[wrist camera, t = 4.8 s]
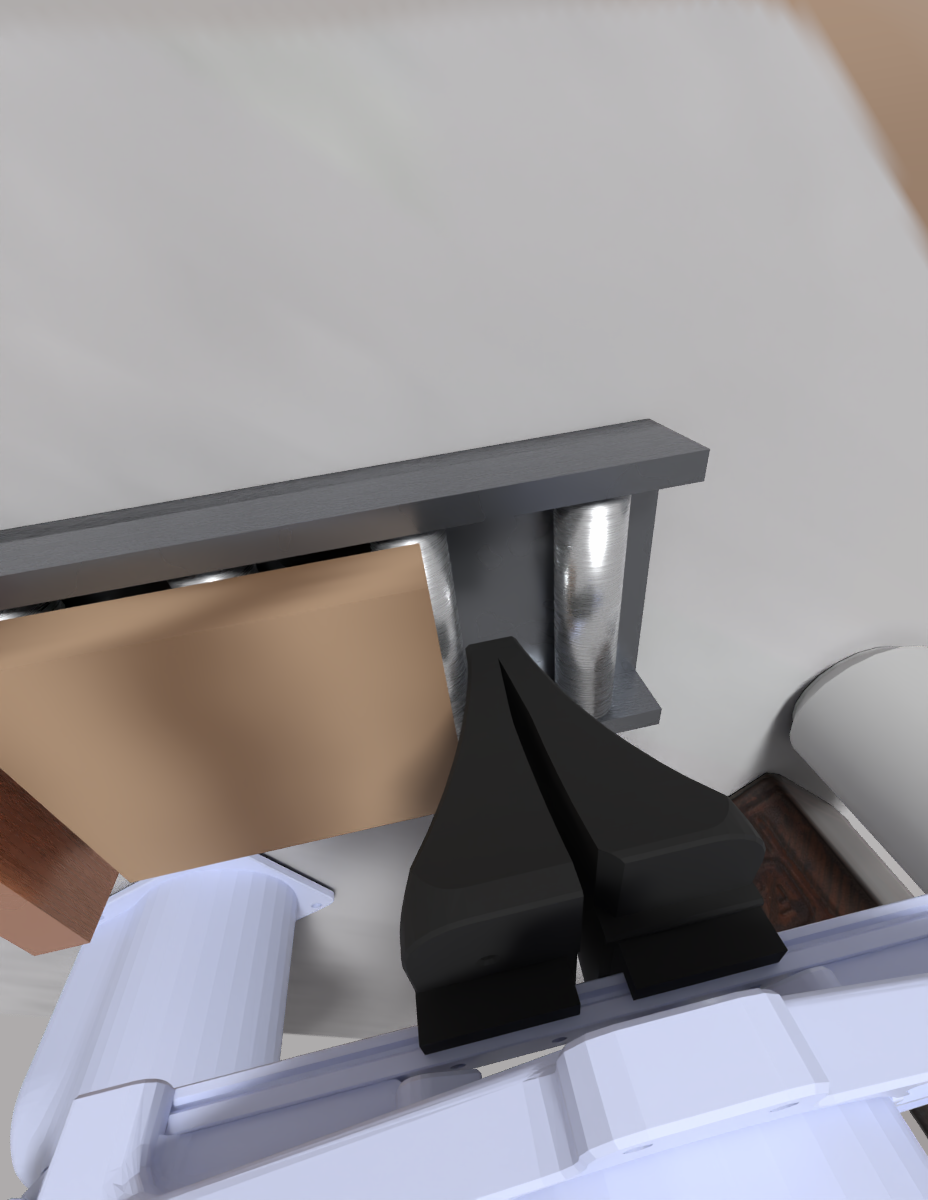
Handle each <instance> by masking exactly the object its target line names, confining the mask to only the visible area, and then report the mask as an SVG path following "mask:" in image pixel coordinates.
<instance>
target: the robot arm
mask: <svg viewBox="0 0 928 1200" xmlns="http://www.w3.org/2000/svg"><path fill="white" fill-rule="evenodd" d="M465 651H466V657H467V663H468V682H467V692H466V702H465V709H464V715H463V721H462V726H461V732H460V736H459V741H458V745H457V749H456V753H455V756H454V760H453V764H452V767H451V770H450V773H449V776H448V780H447V783H446V786H445V789H444V792H443V794H442V797H441V800H440V802H439V805H438V807H437V810H436V812H435V815H434V817H433V820H432V822H431V825H430V827H429V830H428V832H427V834H426V836H425V838H424V840H423V843H422V845H421V847H420V849H419V851H418V853H417V855H416V857H415V859H414V861H413V864H412V866H411V868H410V872H409V876H408V880H407V885H406V890H405V895H404V900H403V905H402V912H401V921H400V946H401V961H402V967H403V969H404V971H405V973H406V975H407V977H408V978H409V980H410V982H411V984H412V986H413V988H414V989H415V992H416V1007H417V1022H418V1025H417V1026H413V1027H409V1028H405V1029H401V1030H397V1031H393V1032H389V1033H386V1034H382V1035H378V1036H374V1037H370V1038H366V1039H362V1040H358V1041H354V1042H351V1043H347V1044H343V1045H339V1046H335V1047H331V1048H328V1049H323V1050H320V1051H316V1052H312V1053H308V1054H304V1055H300V1056H296V1057H293V1058H289V1059H285V1060H281V1061H280V1054H281V1045H282V1036H283V1027H284V1018H285V1009H286V1000H287V991H288V982H289V973H290V964H291V956H292V947H293V938H294V929H295V921H297V920H299V919H301V918H303V917H305V916H307V915H309V914H311V913H313V912H315V911H318V910H320V909H322V908H324V907H326V906H328V905H330V904H332V903H333V901H334V892H333V891H331V890H329V889H327V888H325V887H323V886H321V885H319V884H317V883H315V882H313V881H311V880H309V879H307V878H305V877H303V876H301V875H299V874H297V873H295V872H293V871H291V870H289V869H287V868H285V867H283V866H281V865H279V864H277V863H275V862H273V861H271V860H269V859H267V858H265V857H263V856H261V855H260V854H255V855H251V856H246V857H242V858H238V859H233V860H229V861H224V862H220V863H215V864H211V865H207V866H202V867H198V868H193V869H189V870H185V871H180V872H176V873H171V874H167V875H163V876H158V877H154V878H149V879H145V880H140V881H138V882H136V883H134V884H133V885H131V886H129V887H127V888H125V889H123V890H121V891H119V892H118V893H116V894H114V895H112V896H110V897H109V898H108V901H107V903H106V905H105V908H104V910H103V913H102V915H101V917H100V920H99V922H98V925H97V927H96V929H95V932H94V934H93V937H92V939H91V941H90V943H87V944H83V945H82V946H81V948H80V951H79V953H78V955H77V958H76V960H75V962H74V965H73V967H72V969H71V972H70V974H69V976H68V979H67V981H66V983H65V986H64V988H63V990H62V993H61V995H60V997H59V1000H58V1002H57V1004H56V1007H55V1009H54V1011H53V1014H52V1016H51V1018H50V1021H49V1023H48V1025H47V1028H46V1030H45V1032H44V1035H43V1037H42V1039H41V1042H40V1044H39V1046H38V1049H37V1051H36V1053H35V1056H34V1058H33V1061H32V1063H31V1065H30V1067H29V1070H28V1072H27V1074H26V1077H25V1079H24V1081H23V1084H22V1086H21V1089H20V1092H19V1095H18V1098H17V1101H16V1104H15V1108H14V1112H13V1117H12V1124H11V1134H10V1135H11V1137H10V1139H11V1140H10V1142H11V1143H10V1145H11V1157H12V1163H13V1167H14V1170H15V1172H16V1174H17V1176H18V1177H19V1179H20V1181H21V1182H22V1183H23V1184H24V1185H25V1186H26V1187H27V1188H28V1190H27V1191H26V1192H25V1193H24V1194H23V1195H22V1197H21V1198H11V1199H8V1200H928V1156H927V1155H926V1153H925V1152H924V1150H923V1149H922V1147H921V1145H920V1144H919V1143H918V1141H917V1139H916V1138H915V1136H914V1134H913V1133H912V1131H911V1130H910V1128H909V1127H908V1125H907V1124H906V1122H905V1120H904V1119H903V1117H902V1116H901V1114H900V1113H901V1112H904V1111H907V1110H911V1109H914V1108H917V1107H920V1106H924V1105H927V1104H928V894H925V895H921V896H918V897H913V898H909V899H905V900H902V901H898V902H894V903H890V904H886V905H882V906H878V907H874V908H871V909H867V910H863V911H859V912H855V913H851V914H847V915H843V916H840V917H836V918H832V919H828V920H824V921H820V922H816V923H812V924H808V925H805V926H801V927H797V928H793V929H789V930H785V931H781V932H776V930H775V928H774V927H773V925H772V924H771V922H770V920H769V919H768V917H767V916H766V914H765V912H764V911H763V909H762V908H761V906H763V904H764V900H763V897H762V896H761V894H760V893H759V891H758V889H757V888H756V886H755V885H754V883H753V882H752V881H753V880H754V878H755V876H756V874H757V872H758V870H759V868H760V866H761V864H762V862H763V859H764V855H765V851H766V847H765V844H764V841H763V840H762V838H761V837H760V835H759V834H758V833H757V831H756V830H755V828H754V827H753V825H752V824H751V823H750V822H749V820H748V819H747V818H746V817H745V816H744V814H743V813H742V812H741V811H740V810H739V809H738V807H737V806H736V805H735V804H734V803H733V802H732V801H731V799H730V798H729V797H728V796H726V795H724V794H722V793H719V792H717V791H715V790H713V789H711V788H709V787H707V786H705V785H703V784H701V783H699V782H696V781H694V780H692V779H690V778H688V777H686V776H684V775H682V774H680V773H679V772H677V771H675V770H673V769H671V768H670V767H668V766H666V765H664V764H662V763H661V762H659V761H657V760H656V759H654V758H653V757H651V756H649V755H648V754H646V753H645V752H643V751H641V750H640V749H638V748H636V747H635V746H633V745H632V744H630V743H628V742H627V741H625V740H624V739H623V738H621V737H620V736H618V735H617V734H616V733H614V732H613V731H611V730H610V729H608V728H607V727H606V726H604V725H603V724H602V723H601V722H599V721H598V720H597V719H595V718H594V717H593V716H592V715H590V714H589V713H588V712H587V711H585V710H584V709H583V708H582V707H581V706H580V705H578V704H577V703H576V702H575V701H574V700H573V699H572V698H570V697H569V696H568V695H567V694H566V693H565V692H564V691H563V690H562V689H561V688H560V687H559V686H558V685H557V684H556V683H555V682H554V681H553V680H552V679H551V678H550V677H549V676H548V675H547V674H546V673H545V672H544V671H543V670H542V669H541V668H540V667H539V666H538V665H537V664H536V663H535V661H534V660H533V659H532V658H531V657H530V656H529V655H528V653H527V652H526V651H525V650H524V649H523V647H522V646H521V645H520V643H519V642H518V641H517V639H516V638H514V637H513V636H509V637H504V638H499V639H494V640H489V641H484V642H479V643H474V644H469V645H468V646H467V647H466V648H465ZM577 954H578V958H579V962H580V966H581V970H582V974H583V977H584V981H585V982H583V983H580V984H576V967H577ZM564 1044H566V1045H565V1047H564V1048H563V1049H562V1050H559V1051H556V1052H553V1053H551V1054H548V1055H545V1056H542V1057H540V1058H537V1059H534V1060H532V1061H529V1062H526V1063H523V1064H521V1065H518V1066H515V1067H512V1068H509V1069H507V1070H504V1071H501V1072H499V1073H496V1074H493V1075H490V1076H488V1077H485V1078H482V1075H481V1073H480V1072H479V1071H478V1070H477V1069H473V1068H478V1067H481V1066H485V1065H489V1064H493V1063H496V1062H500V1061H504V1060H508V1059H511V1058H515V1057H519V1056H523V1055H526V1054H530V1053H534V1052H538V1051H542V1050H545V1049H549V1048H553V1047H557V1046H560V1045H564Z"/></svg>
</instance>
